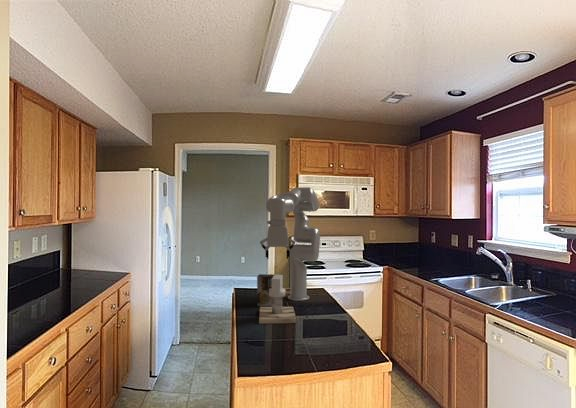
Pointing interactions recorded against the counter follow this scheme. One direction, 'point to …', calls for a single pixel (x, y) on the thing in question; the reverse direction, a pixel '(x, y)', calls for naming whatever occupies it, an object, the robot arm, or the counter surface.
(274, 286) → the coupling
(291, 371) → the counter surface
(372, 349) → the counter surface
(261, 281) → the coffee box
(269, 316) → the post base
